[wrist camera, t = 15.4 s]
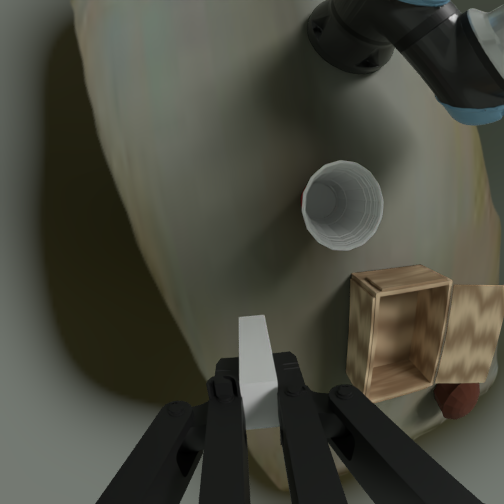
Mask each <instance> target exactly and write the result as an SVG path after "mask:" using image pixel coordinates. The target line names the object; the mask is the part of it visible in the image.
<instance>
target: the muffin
mask: <svg viewBox="0 0 504 504" xmlns="http://www.w3.org/2000/svg"><path fill="white" fill-rule="evenodd" d="M434 394H435V399H436V401H437V403H438V405H439V407H440V409H441V411H442V413H443V416H444V417H445V418H448V419H458V418H461V417H463V416H465V415H467V414H468V413H469V412H470V411H471V410H472V409H473V408H474V406H475V404H476V403H477V400H478V397H479V394H480V388H479V383H437V386H436V388H435V389H434Z"/></svg>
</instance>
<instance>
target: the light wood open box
mask: <svg viewBox="0 0 504 504" xmlns="http://www.w3.org/2000/svg"><path fill="white" fill-rule="evenodd" d="M451 289H452V280H451V279H449V278H447V277H445V276H443V275H441V274H439V273H437V272H435V271H433V270H431V269H429V268H427V267H425V266H422V265H413V266H405V267H398V268H390V269H382V270H374V271H365V272H357V273H351V279H350V314H349V335H348V351H347V364H346V374H347V375H348V377H349V379H350V381H351V383H352V384H353V386H355V387H356V388H358V389H359V390H360V391H361V392H362V393H363V394H364V395H365V396H366V397H367V398H368V399H369V400H370V401H372V402H373V403H377V402H381V401H384V400H388V399H392V398H395V397H399V396H402V395H406V394H409V393H412V392H416V391H419V390H422V389H425V388H427V387H428V386H431V385H433V382H434V378H435V374H436V370H437V366H438V362H439V358H440V353H441V349H442V344H443V339H444V334H445V329H446V323H447V317H448V311H449V304H450V297H451Z"/></svg>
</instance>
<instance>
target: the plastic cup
mask: <svg viewBox="0 0 504 504" xmlns="http://www.w3.org/2000/svg"><path fill="white" fill-rule="evenodd" d="M383 204H384V200H383V196H382V192H381V188H380V185H379V183H378V182H377V180H376V179H375V177H374V176H373V175H372V173H371V172H370V171H369V170H368V169H366V168H364V167H363V166H361V165H360V164H358V163H357V162H351V161H344V160H339V161H335V162H332V163H329V164H326V165H324V166H323V167H321V168H320V169H319V170H318V171H317V172H316V173H315V174H313V175H312V176H311V178H310V180H309V182H308V184H307V186H306V187H305V188H304V190H303V192H302V195H301V207H302V214H303V217H304V220H305V224H306V227H307V230H308V231H309V232H310V233H311V234H312V236H313V237H314V238H315V239H316V240H317V242H318V243H320V244H322V245H324V246H326V247H328V248H330V249H332V250H351V249H354V248H356V247H359V246H361V245H363V244H364V243H365V242H367V241H368V240H369V239H370V238H371V237H372V236H373V235H374V234H375V232H376V230H377V228H378V226H379V224H380V222H381V219H382V214H383Z"/></svg>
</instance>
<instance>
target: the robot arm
mask: <svg viewBox="0 0 504 504" xmlns="http://www.w3.org/2000/svg"><path fill="white" fill-rule="evenodd" d="M307 32H308V36H309V39H310V42H311V44H312V45H313V47H314V49H315V50H316V51H317V52H318V53H319V55H320V56H321V57H322V58H324V59H325V60H326V61H327V62H329V63H330V64H332V65H333V66H335V67H337V68H339V69H341V70H344V71H347V72H351V73H357V74H366V73H371V72H374V71H376V70H378V69H380V68H381V67H382V66H384V65H385V64H386V63H387V62H388V61H389V60H390V58H391V56H392V54H393V51H394V48H396V49H397V50H398V51H399V52H400V53H401V54H402V55H403V57H404V58H405V59H406V60H407V61H408V62H409V63H410V64H411V66H412V67H413V68H414V69H415V70H416V71H417V73H418V74H419V75H420V76H421V77H422V79H423V80H424V81H425V82H426V84H427V85H428V86H429V87H430V89H431V90H432V91H433V93H434V94H435V97H436V99H437V100H438V102H439V103H441V104H442V105H443V106H444V107H445V109H446V110H447V111H448V113H449V114H450V115H451V116H452V118H454V119H455V120H456V121H458V122H460V123H462V124H465V125H483V124H488V123H491V122H494V121H497V120H499V119H501V118H502V116H504V4H503V5H502V6H500V7H498V8H496V9H495V10H493V11H491V12H490V13H486V12H483V11H480V10H476V9H473V8H471V9H469V10H468V11H466V12H465V13H463V14H462V13H461V12H460V11H459V10H458V9H457V7H456V6H455V5H454V4H453V3H452V2H451V1H450V0H325V1H324V2H322V3H321V4H319V5H318V6H317V7H316V8H315V9H314V10H313V12H312V14H311V16H310V18H309V21H308V25H307ZM206 385H207V390H208V395H209V401H208V402H206V403H204V404H201V405H198V406H195V407H191V405H190V404H188V403H187V402H184V401H173V402H170V403H168V404H166V405H165V406H164V407H163V408H162V409H161V410H160V412H159V413H158V415H157V416H156V418H155V419H154V420H153V422H152V423H151V425H150V426H149V428H148V429H147V431H146V432H145V433H144V435H143V436H142V438H141V439H140V441H139V442H138V444H137V445H136V447H135V448H134V450H133V451H132V452H131V454H130V455H129V457H128V458H127V460H126V461H125V462H124V464H123V465H122V467H121V468H120V469H119V471H118V472H117V474H116V475H115V477H114V478H113V479H112V481H111V482H110V484H109V485H108V486H107V488H106V489H105V491H104V492H103V494H102V495H101V497H100V498H99V500H98V501H97V502H96V504H179V503H180V501H181V499H182V497H183V495H184V493H185V491H186V488H187V486H188V484H189V482H190V480H191V478H192V476H193V474H194V471H195V469H196V467H197V465H198V463H199V461H200V458H201V456H202V454H203V463H202V474H201V485H200V495H199V504H250V486H249V468H248V448H247V435H246V430H247V429H259V428H270V427H279V426H280V440H281V445H282V448H283V454H284V460H285V466H286V472H287V478H288V484H289V490H290V496H291V502H292V504H348V503H347V500H346V497H345V494H344V491H343V488H342V485H341V482H340V479H339V475H338V472H337V469H336V466H335V463H334V460H333V457H332V454H331V451H330V448H329V445H328V443H329V444H330V446H331V447H332V448H333V450H334V451H335V452H336V454H337V455H338V456H339V458H340V459H341V460H342V462H343V463H344V464H345V466H346V467H347V468H348V470H349V471H350V472H351V474H352V475H353V476H354V477H355V479H356V480H357V481H358V483H359V484H360V485H361V486H362V488H363V489H364V490H365V492H366V493H367V494H368V495H369V497H370V498H371V499H372V500H373V502H374V503H375V504H484V503H482V502H481V501H480V500H479V499H477V497H475V496H474V495H473V494H472V493H471V492H470V491H469V490H467V489H466V488H465V487H464V486H463V485H462V484H460V483H459V482H458V481H457V480H456V479H455V478H454V477H453V476H452V475H450V474H449V473H448V472H447V471H446V470H445V469H444V468H443V467H442V466H440V465H439V464H438V463H437V462H436V461H435V460H434V459H433V458H432V457H431V456H429V455H428V454H427V453H426V452H425V451H424V450H423V449H422V448H421V447H420V446H419V445H417V444H416V443H415V442H414V441H413V440H412V439H411V438H410V437H409V436H408V435H407V434H406V433H404V432H403V431H402V430H401V429H400V428H399V427H398V426H397V425H396V424H395V423H394V422H393V421H392V420H391V419H390V418H388V417H387V416H386V415H385V414H384V413H383V412H382V411H381V410H380V409H379V408H378V407H377V406H376V405H375V404H374V403H373V402H372V401H370V400H369V399H368V398H367V397H366V396H365V395H364V394H363V393H362V392H361V391H360V390H359V389H358V388H356V387H355V386H352V385H338V386H336V387H334V388H332V389H331V390H330V392H329V393H317V392H313V391H311V390H310V389H309V387H308V386H306V385H305V383H304V380H303V377H302V374H301V371H300V368H299V364H298V361H297V358H296V356H295V355H294V354H292V353H291V352H281V353H272V351H271V346H270V341H269V336H268V331H267V326H266V320H265V315H256V316H245V317H239V357H236V358H221V359H220V360H219V362H218V363H217V364H216V371H215V376H214V377H211V378H210V379H209V380H208V381H207V383H206ZM203 450H204V453H203Z"/></svg>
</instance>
